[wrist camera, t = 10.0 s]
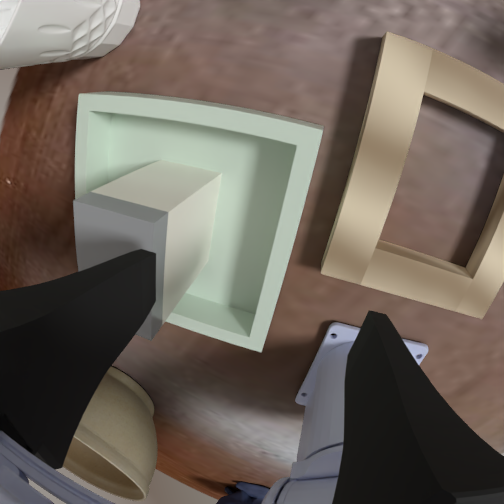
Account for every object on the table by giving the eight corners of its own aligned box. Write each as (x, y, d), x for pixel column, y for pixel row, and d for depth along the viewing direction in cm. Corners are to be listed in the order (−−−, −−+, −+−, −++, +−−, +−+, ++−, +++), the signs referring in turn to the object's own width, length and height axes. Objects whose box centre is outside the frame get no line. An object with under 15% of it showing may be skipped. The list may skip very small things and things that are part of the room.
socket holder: (475, 306, 19) (482, 318, 17) (321, 261, 20) (320, 273, 19) (548, 120, 12) (561, 123, 11) (382, 36, 13) (387, 31, 12)
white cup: (171, -22, 14) (61, -75, 5) (115, 82, 18) (-10, 95, 9) (91, -40, 13) (-12, -66, 5) (48, 50, 17) (-60, 59, 9)
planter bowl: (199, 442, 34) (168, 515, 25) (99, 416, 38) (63, 471, 29) (154, 346, 27) (93, 440, 18) (45, 329, 32) (-11, 388, 22)
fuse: (207, 261, 21) (151, 340, 14) (154, 245, 22) (83, 311, 15) (221, 173, 18) (153, 223, 11) (160, 159, 19) (73, 200, 12)
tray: (269, 324, 23) (261, 352, 21) (103, 269, 25) (82, 288, 22) (324, 126, 16) (323, 130, 14) (108, 91, 18) (78, 93, 15)
